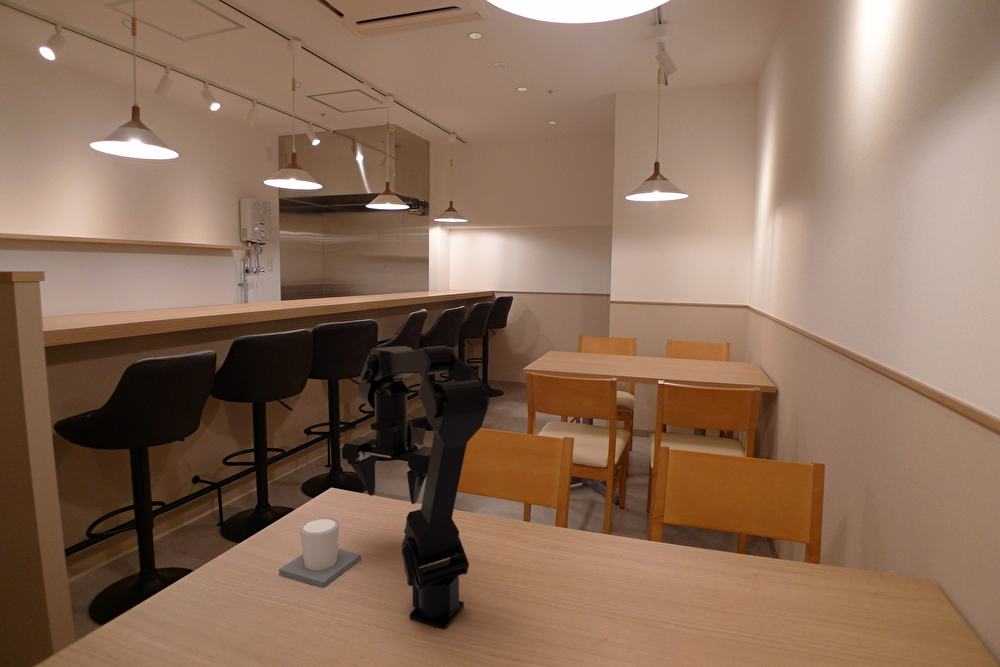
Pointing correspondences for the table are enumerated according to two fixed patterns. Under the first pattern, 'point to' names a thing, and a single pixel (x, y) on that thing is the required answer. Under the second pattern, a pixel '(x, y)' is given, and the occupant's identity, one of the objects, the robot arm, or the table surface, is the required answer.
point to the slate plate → (320, 577)
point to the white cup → (320, 542)
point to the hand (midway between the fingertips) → (392, 499)
